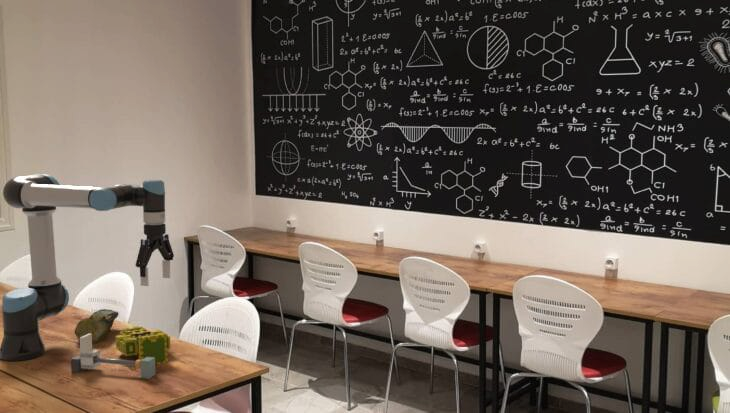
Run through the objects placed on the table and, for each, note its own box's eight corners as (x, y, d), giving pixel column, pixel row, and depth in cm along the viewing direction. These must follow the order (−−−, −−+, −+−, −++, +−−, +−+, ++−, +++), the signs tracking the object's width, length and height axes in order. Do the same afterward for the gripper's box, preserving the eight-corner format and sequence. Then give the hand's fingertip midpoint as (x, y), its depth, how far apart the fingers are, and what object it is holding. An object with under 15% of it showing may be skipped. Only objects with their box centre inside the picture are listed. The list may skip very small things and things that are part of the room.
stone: (115, 343, 285) (123, 317, 309) (105, 317, 281) (114, 292, 305) (77, 355, 283) (88, 327, 307) (66, 328, 280) (78, 302, 303)
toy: (152, 319, 289) (176, 332, 264) (153, 345, 290) (178, 361, 264) (107, 325, 280) (128, 340, 255) (109, 352, 281) (130, 369, 255)
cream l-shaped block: (80, 368, 252) (79, 337, 250) (90, 363, 257) (89, 333, 256) (91, 369, 251) (90, 338, 250) (100, 364, 256) (99, 334, 254)
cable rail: (71, 371, 252) (70, 354, 252) (82, 366, 258) (81, 349, 257) (147, 379, 245) (147, 362, 245) (157, 373, 251) (156, 356, 250)
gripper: (142, 228, 251) (144, 290, 254) (182, 219, 275) (183, 275, 277) (123, 227, 254) (125, 288, 256) (165, 218, 277) (166, 274, 280)
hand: (155, 281), depth 267 cm, fingers open, 13 cm apart
